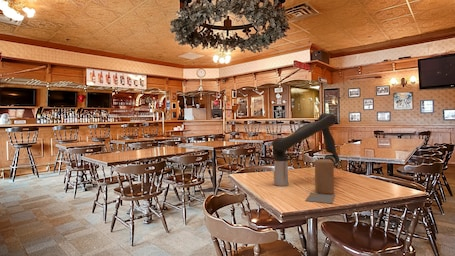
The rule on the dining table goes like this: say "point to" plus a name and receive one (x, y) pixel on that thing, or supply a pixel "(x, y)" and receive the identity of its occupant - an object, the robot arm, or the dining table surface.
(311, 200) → the mat
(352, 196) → the dining table surface
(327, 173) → the block
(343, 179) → the dining table surface
